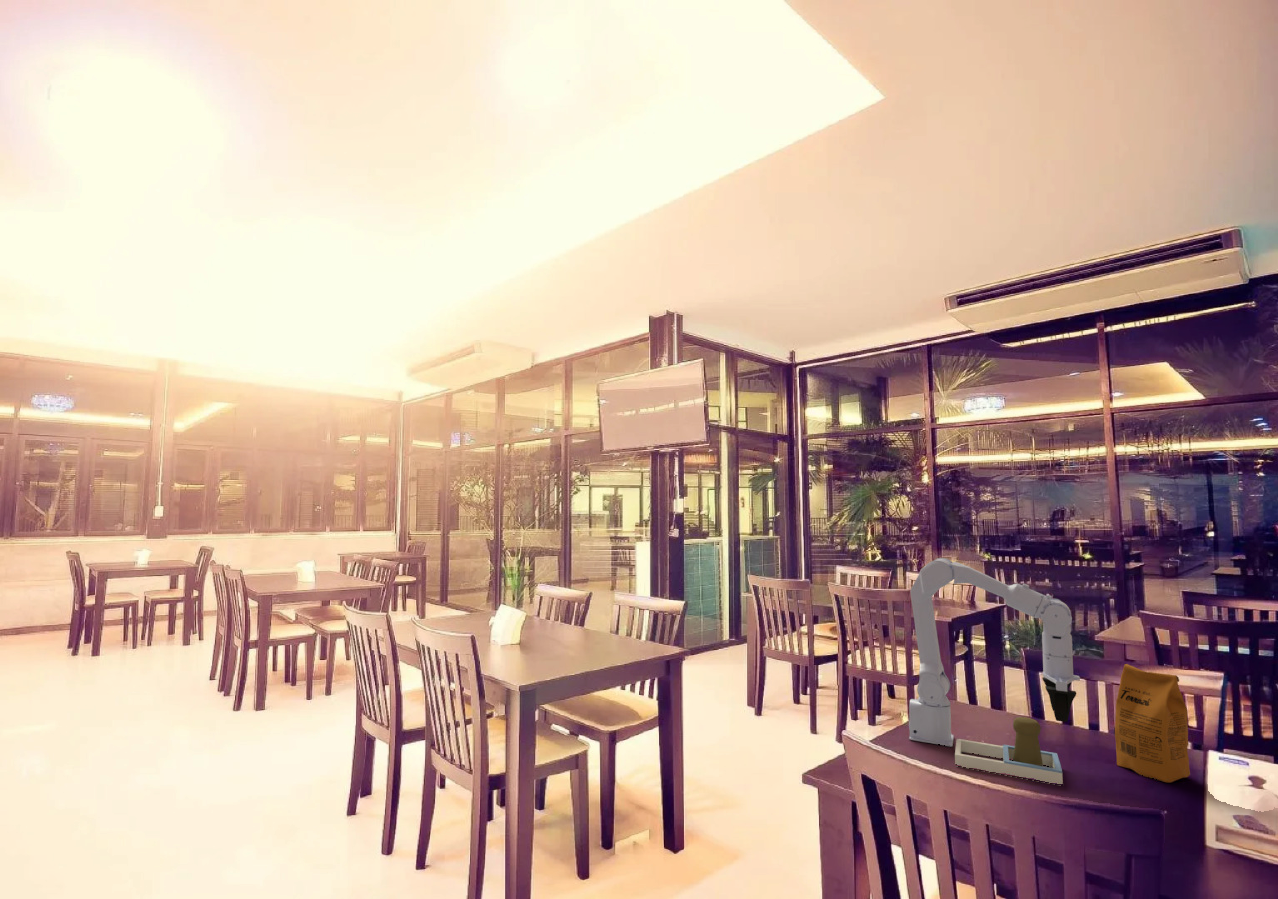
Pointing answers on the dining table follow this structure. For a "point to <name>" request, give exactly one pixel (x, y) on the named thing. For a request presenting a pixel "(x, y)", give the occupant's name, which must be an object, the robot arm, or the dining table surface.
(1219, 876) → the dining table surface
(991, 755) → the tray
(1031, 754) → the olive tall tapered piece
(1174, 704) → the coffee package
